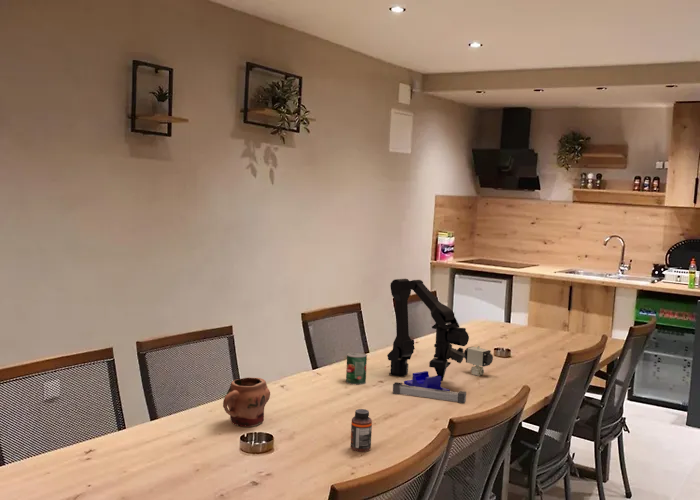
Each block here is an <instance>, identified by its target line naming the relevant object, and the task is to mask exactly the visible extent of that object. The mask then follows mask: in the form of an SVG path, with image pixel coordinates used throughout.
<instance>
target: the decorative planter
mask: <svg viewBox="0 0 700 500" xmlns="http://www.w3.org/2000/svg"><path fill="white" fill-rule="evenodd" d="M270 398H271V391H270V389H269V388H268V385H267V382H266V380H265V379H263V378H261V377H244V378H238V379H234V380H232V381H231V383H230V385H229V388H228V390H227V392H226V395H224V398H223V403H222V407H223V409H224V411H225V413H226V414H228V415H229V417H230V421H231V424H233V423H234V424H233V425H235V424H236V425H235V426H237V425H240V426H239V427H243V426H244V427H247V428H248V427H254V426H258V425H261V424H262V423H263V422H264V421H265V407H266V404H267V403H268V402H269V400H270Z"/></svg>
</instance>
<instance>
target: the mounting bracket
mask: <svg viewBox="0 0 700 500" xmlns="http://www.w3.org/2000/svg"><path fill="white" fill-rule="evenodd" d="M403 385H408V386H415V387H423V388H430V389H437V390H445V391H451V390H450V389H448V388H445V387H443V386H442V381H441V376H440V375H437V374H436V375H433V376H430V375H429V371H427V370H424V371H419V372H418V371H417V372H412V379H408V380H403Z"/></svg>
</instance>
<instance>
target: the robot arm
mask: <svg viewBox="0 0 700 500" xmlns="http://www.w3.org/2000/svg"><path fill="white" fill-rule="evenodd" d="M389 286H390V293H391V296H392V297H393V299H394V301H395V324H396V325H395V328H396V336H395V338H394V340H393V344H392V350H390V352H389V353H387V361H390V372H389V373H388V375H389V376H394V377H401V378H402V377H406V376H407V375H408V374H409V363H408V360H411V358H412V355H413V354H414V352H415V350H416V349H415V339H412V338H411V337H410V335H409V334H410V333H409V332H410V331H409V309H408V308H409V307H408V300H409V298H410V297H411V293H412V291H413V292H414V293H415V294H416V296H418V298H419V299H420V300H421V302H422V303H424V305H425V306H426V308H428V309H429V311H430V316H431V318H432V320H433V322H434V323H435V324H433V325H432V326H431V328H432V329H434V330H435V344H434V345H433V347H434V349H435V351H434V352H435V353H434V354H433V358H432V359H430V361H429V363H428V364H429V365H428V367H429V368H434V370H435V372H436V376H437V375H440V376H441V382H443V381H444V379H445V374H446V372H447V368H448V367H449V366H450V365H451V363H452V362H451V361H448V360H452V361H455V362H456V363H458V364H462V362H463V360H464V359H465V358H464V356H465V353H464V348H463V347H465V346H467V345H468V343H469V340H470V336H469V333H468V332H467V330H466V329H467V328H466V327H460V324H459V322H458V320H457V318H456V316H455V312H454V310H452V308H450V307H448V305H445V304H443V303H441V302H440V301H439V299H437V297H435V295H434V293H432V292H431V290H430V289H429V288H428V287H427V286H426V285H425V284H424V281H423V280H421V279H412V280H409V279H408V278H397V279H393V280H392V281H391V282H390V285H389ZM453 345H456V346H459V348H453Z"/></svg>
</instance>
